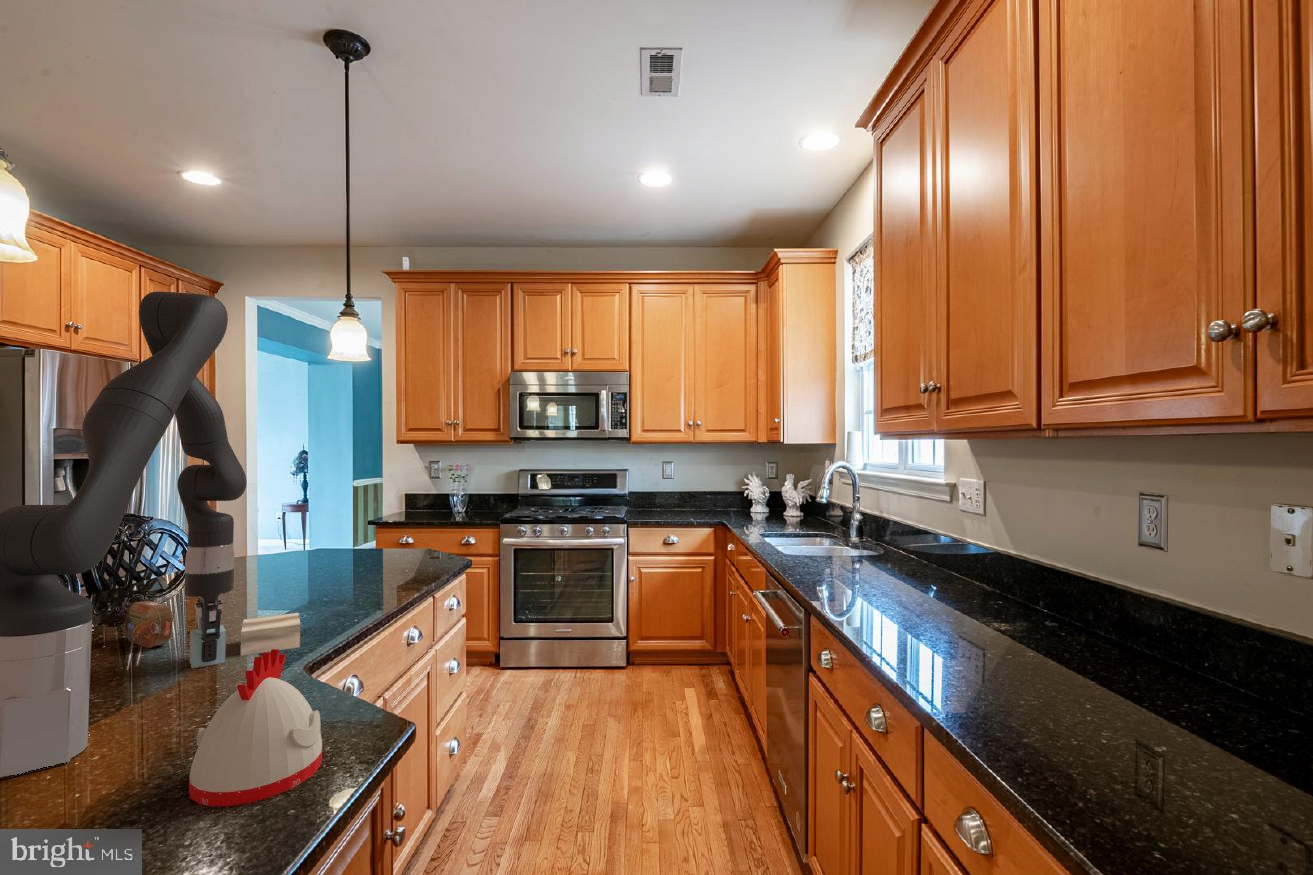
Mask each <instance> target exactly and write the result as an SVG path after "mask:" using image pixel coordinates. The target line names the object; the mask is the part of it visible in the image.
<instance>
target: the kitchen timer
mask: <svg viewBox="0 0 1313 875" xmlns="http://www.w3.org/2000/svg"><path fill="white" fill-rule="evenodd" d="M286 656H287V655H286V654H284V653H283V654H282V653H281V654H280V650H279V649H272V650H271V652H264V653H261V656H254V658H253V666H252V670H249V669H248V670H245V679H246V683H245V684H237V690H235V692H233V693H232V694H231V695H230V696H229V697H228V698H227V699H225V701H224V702H223V703H222V704H221V705H220V707H219V708H218V709H217V711H216V712H215V713H214V714H213V716H212V718H211V720H210V721H209V722H208V723H209V724H208V725H207V726H206V727H201V728H199V729H198V731H197V734H196V745H197V750H196V752H195V755H194V756H193V757H194V758H193V760H192V764H191V767H190V771H189V781H188V782H189V783H188V792H189V796H190V799H191V800H192V801H194V802H196V803H197V804H199V805H204V806H208V807H209V806H210V807H232V806H239V805H240V806H241V805H246V804H252V803H254V802H258V801H261V800H262V801H263V800H265V799H270V798H272V797H274V796H277V795H279V794H282V793H284V792H286V791H289V790H291V789H293V788H295V787H297V786H298V785H300V784H302V783H304V782H306V781H307V779H309V778H310V777H312V776H313V775H314V774H315V773H316V772H317V771H318V769H319V768H320V766H321V765H322V761H323V760H322V759H323V740H322V739H323V738H322V733H321V714H320V711H319V710H313V709H312V707H311V705H310V703H309V702H308V701H307V699H306V698H305V696H304V695H303V694H302V693H301V692H300V690H298V689H297V688H296V687H295V686H294V685H292V684H291V683H289V682H287V681H285V680H283V679H280V678H281V675H282V673H283V668H284V666H285V665H284V664H285V660H286Z"/></svg>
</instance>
